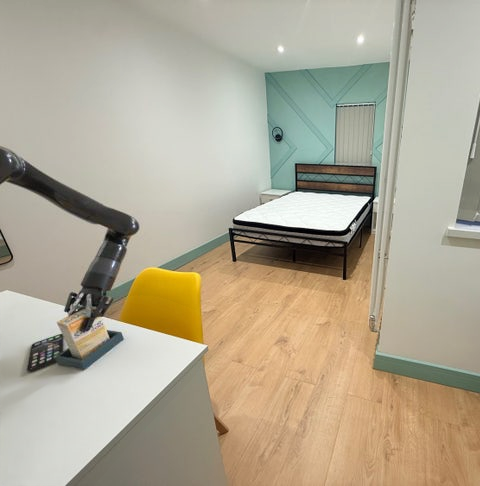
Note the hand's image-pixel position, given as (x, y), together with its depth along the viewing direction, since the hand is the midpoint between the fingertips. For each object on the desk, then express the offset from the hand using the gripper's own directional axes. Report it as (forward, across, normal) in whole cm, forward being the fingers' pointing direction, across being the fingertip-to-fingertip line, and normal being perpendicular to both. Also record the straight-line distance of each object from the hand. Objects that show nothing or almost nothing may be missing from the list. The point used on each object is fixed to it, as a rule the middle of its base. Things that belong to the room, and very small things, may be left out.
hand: (75, 329), depth 76 cm
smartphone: (+8, -14, +6) cm, 17 cm away
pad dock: (+6, 0, +8) cm, 10 cm away
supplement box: (+5, 0, +8) cm, 10 cm away
